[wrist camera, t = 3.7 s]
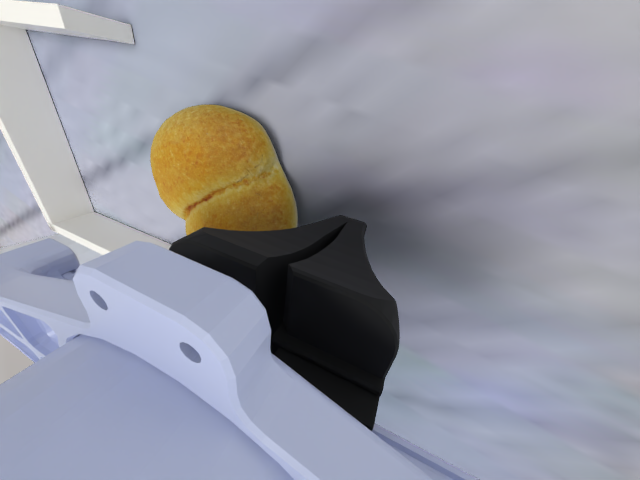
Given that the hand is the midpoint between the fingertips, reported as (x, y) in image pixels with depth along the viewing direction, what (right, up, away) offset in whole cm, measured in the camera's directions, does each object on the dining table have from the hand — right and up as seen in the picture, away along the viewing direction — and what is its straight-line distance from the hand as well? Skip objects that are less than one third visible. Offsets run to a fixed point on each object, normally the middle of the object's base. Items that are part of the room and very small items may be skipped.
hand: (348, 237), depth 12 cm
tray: (-17, +6, +6) cm, 19 cm away
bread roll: (-6, +3, +3) cm, 7 cm away
